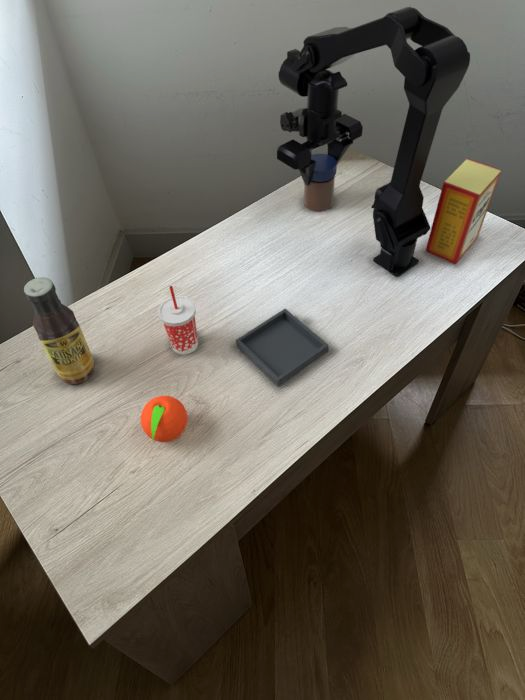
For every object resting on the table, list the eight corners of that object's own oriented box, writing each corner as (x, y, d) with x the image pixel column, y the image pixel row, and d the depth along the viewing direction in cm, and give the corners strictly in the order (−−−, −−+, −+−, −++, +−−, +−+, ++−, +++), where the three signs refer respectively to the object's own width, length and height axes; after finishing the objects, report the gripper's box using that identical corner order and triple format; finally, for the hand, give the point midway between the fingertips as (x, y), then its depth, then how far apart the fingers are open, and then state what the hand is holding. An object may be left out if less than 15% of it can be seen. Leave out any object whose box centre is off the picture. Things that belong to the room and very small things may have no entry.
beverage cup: (179, 326, 93) (165, 268, 82) (209, 337, 92) (198, 279, 81) (161, 351, 90) (143, 294, 79) (191, 362, 88) (177, 306, 77)
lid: (296, 172, 109) (297, 161, 107) (320, 159, 112) (321, 149, 110) (318, 186, 106) (319, 175, 104) (342, 173, 108) (343, 162, 106)
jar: (319, 190, 117) (320, 154, 110) (338, 203, 114) (342, 166, 107) (297, 202, 115) (298, 165, 108) (317, 215, 112) (319, 178, 105)
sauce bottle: (64, 392, 86) (15, 310, 70) (56, 365, 89) (6, 282, 74) (103, 376, 87) (62, 293, 72) (93, 351, 91) (52, 266, 75)
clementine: (182, 459, 77) (173, 436, 71) (137, 453, 78) (126, 429, 72) (195, 414, 82) (188, 388, 76) (153, 408, 83) (144, 383, 77)
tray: (285, 315, 94) (285, 308, 93) (328, 351, 88) (328, 344, 87) (236, 346, 90) (235, 339, 89) (277, 387, 84) (277, 380, 83)
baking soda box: (447, 226, 108) (468, 156, 95) (477, 239, 105) (502, 168, 92) (425, 251, 103) (443, 180, 91) (455, 264, 100) (479, 193, 88)
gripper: (327, 75, 105) (323, 146, 118) (257, 107, 98) (260, 179, 111) (368, 94, 100) (359, 167, 112) (296, 129, 93) (295, 203, 105)
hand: (318, 178), depth 110 cm, fingers closed on jar, lid, 6 cm apart
